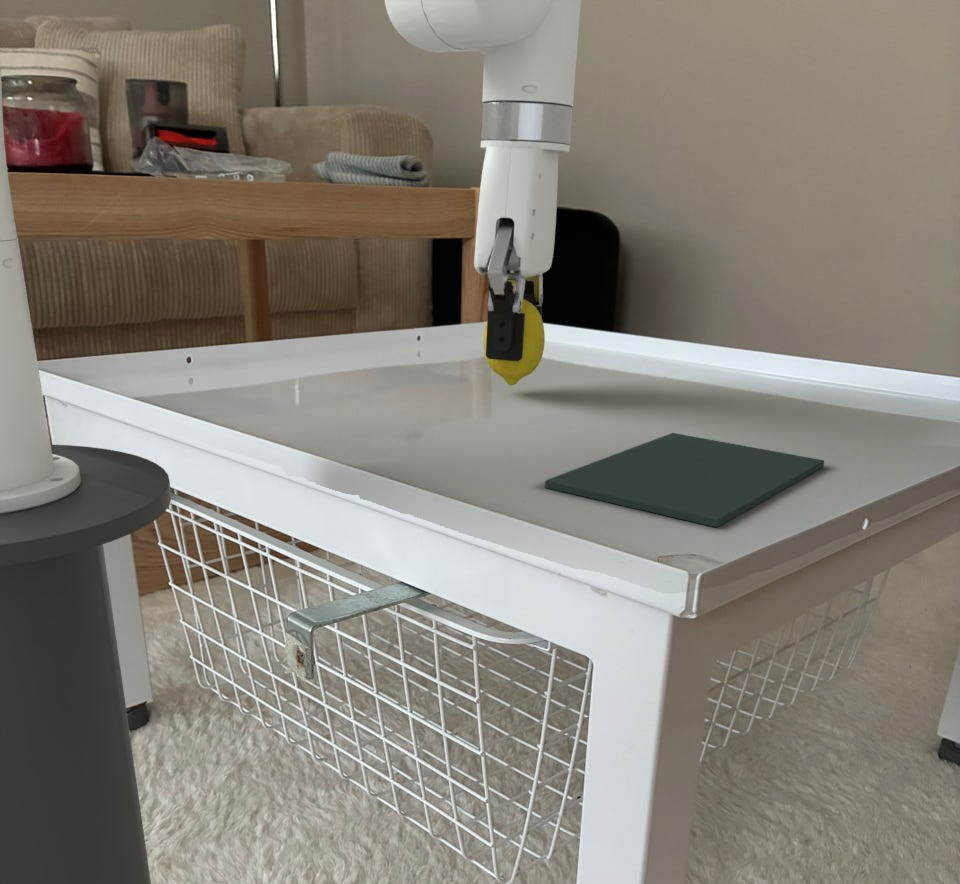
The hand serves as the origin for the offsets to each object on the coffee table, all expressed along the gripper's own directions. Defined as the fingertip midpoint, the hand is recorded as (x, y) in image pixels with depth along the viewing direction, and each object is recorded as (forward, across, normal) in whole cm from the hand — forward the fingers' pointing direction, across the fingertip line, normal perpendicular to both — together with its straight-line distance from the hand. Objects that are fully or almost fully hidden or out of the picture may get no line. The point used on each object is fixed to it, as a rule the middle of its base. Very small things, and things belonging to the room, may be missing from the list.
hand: (513, 352), depth 89 cm
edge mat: (+4, +22, +19) cm, 29 cm away
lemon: (+3, 0, 0) cm, 3 cm away
